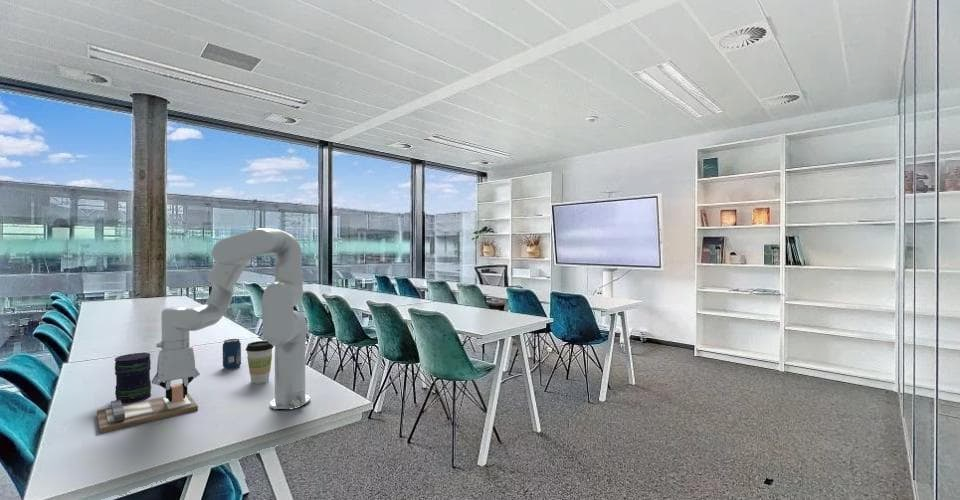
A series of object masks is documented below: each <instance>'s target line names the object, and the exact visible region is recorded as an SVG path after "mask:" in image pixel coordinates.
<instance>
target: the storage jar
mask: <svg viewBox="0 0 960 500" xmlns="http://www.w3.org/2000/svg"><path fill="white" fill-rule="evenodd" d="M114 362H115V363H114V370H115V371H114V374H115V378H116V379H115V381H116V383H115V387H114V388H115V392H114V394H115V398H116V399H115V401H116V400H121V403H122V405H125V404H130V403H135V402H140V401H145V400H149V398H151V396H152V393H151V392H152V384H151V383H152V380H151V376H150V374H151V363H152V361H151V353H150V352H149V353H148V352H137V353H135V352H134V353H128V354H123V355H120V356H117V357H115V358H114Z"/></svg>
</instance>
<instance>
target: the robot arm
mask: <svg viewBox="0 0 960 500" xmlns="http://www.w3.org/2000/svg"><path fill="white" fill-rule="evenodd" d="M302 253H303V252H302V249H301V245H300V243H299V241H298V240H297V239H296V237H294V235H292V234H290V233H289V232H286V231H285V230H281V229H276V228H257V229H251V230H247V231H244V232H242V233H239V234H235V235H232V236H228V237H225V238H222V239H220V240H218V241H216V243H215V244H214V245H213V247H212V251H211V256H212V258H213V260H214V261H215V262H214V264H213V265H212V268H211V269H210V271H209V273H208V275H207V277H206V278H207V281H208V282H209V283H210V284H211V286H212V287H211V291H210V294H209V296H208V298H207V299H206V301H204V302H205V303H204V304H202V305H198V306H195V307H191V308H188V307H186V306H171V307H166V308H164V309H163V310H162V311H161V313H160V314H161V319H160V320H161V341H160V342H159V343H156V348H161V349H160V350H159V351H158V357H157V366H156V374H155V375H154V377H153V379H152V380H151V383H152V384H151V385H156V386H160V387H162V388H163V389H165V396H166V399H168V400H169V402H170V401H172V389H171V387H170V385H172V384H171V383H172V381H177V380H180V379H181V381H182V383H181V384H182V385H183V399H184V398H185V395H187V392H188V386H189V384H190V383H192V381H193V380H194V379H196V378H197V377H200V372H199V371H198V369H197V368H196V360H195V359H196V358H195V352H194V348H193V345H190V331H191V332H196V331H201V330H202V329H206V328H207V327H211V326H213V325H216V324H217V323H218V322H219V321H220V320H222V317H223V316H224V315H225V313H226V312H227V310H228V308H229V306H230V305H231V302H232V300H233V299H232V298H233V296H234V288H235V285H236V284H237V282H238V280H239V278H240V277H241V275H242V273H243V272H244V270H245V268H246V266H247V265H248V263H249V262H250V260H251V259H254V258H256V257H260V256H266V255H275V258H276V259H275V263H274V282H272V283H271V284H269V285H267V287H266V288H265V289H264V292H263V294H262V297H261V317H262V320H261V322H262V334H263V336H264V339H265V341H268V342H269V343H270V344H272V345H273V346H274V398H273V399H272V400H271V401H270V402H269V408H271V409H272V408H273V409H272V410H275V409H290V408H295V407H298V406H301V405H304V404H306V403H308V402H309V401H311V396H310V395H309V394H306V340H307V339H306V338H307V329H308V324H307V319H306V317H305V316H304V315H303V313H301V311H298V310H294V307H296V306H297V305H299V304H300V303H301V301H302V300H303V296H304V288H303V287H304V286H303V256H302V255H303V254H302ZM309 403H310V402H309ZM309 403H308V404H309ZM306 405H307V404H306Z"/></svg>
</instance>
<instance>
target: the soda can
mask: <svg viewBox="0 0 960 500" xmlns="http://www.w3.org/2000/svg"><path fill="white" fill-rule="evenodd" d="M241 364H242V342H241V341H240V338H228V339H225V340H224V341H223V344H222V367H223V369H225V370H234V369H235V370H236V369H239V368H240V366H241Z"/></svg>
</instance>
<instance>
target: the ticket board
mask: <svg viewBox="0 0 960 500" xmlns="http://www.w3.org/2000/svg"><path fill="white" fill-rule="evenodd" d="M185 396H186V397H187V398H188V400H189V401H190V402H191V404H190V405H186V406H181V407H177V408H172V409H168V407H167V405H166V404H165V402H164V400H163V398H165V397H166V395H165V396H160V397H156V398H155V397H154V398H151V399H149V398H148V399H145V400H143V401H139V402H135V403H128V404H122V403H121V400H116V399H115V400H112V401H110V407H107V408H102V409H97V410H96V418H97V423H98V429H99V434H103V433H108V432H113V431H116V430H120V429H124V428H129V427H133V426H137V425H141V424H142V425H143V424H145V423H147V424H148V423H150V422H154V421H159V420H162V419H167V418H171V417H172V418H173V417H177V416H181V415H185V414H187V413H188V414H189V413H193V412H198V411H199V406H198V404H197V402H196V401H195V399H193V398H192V396H191V395H190V393H188V391H187V395H185Z"/></svg>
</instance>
